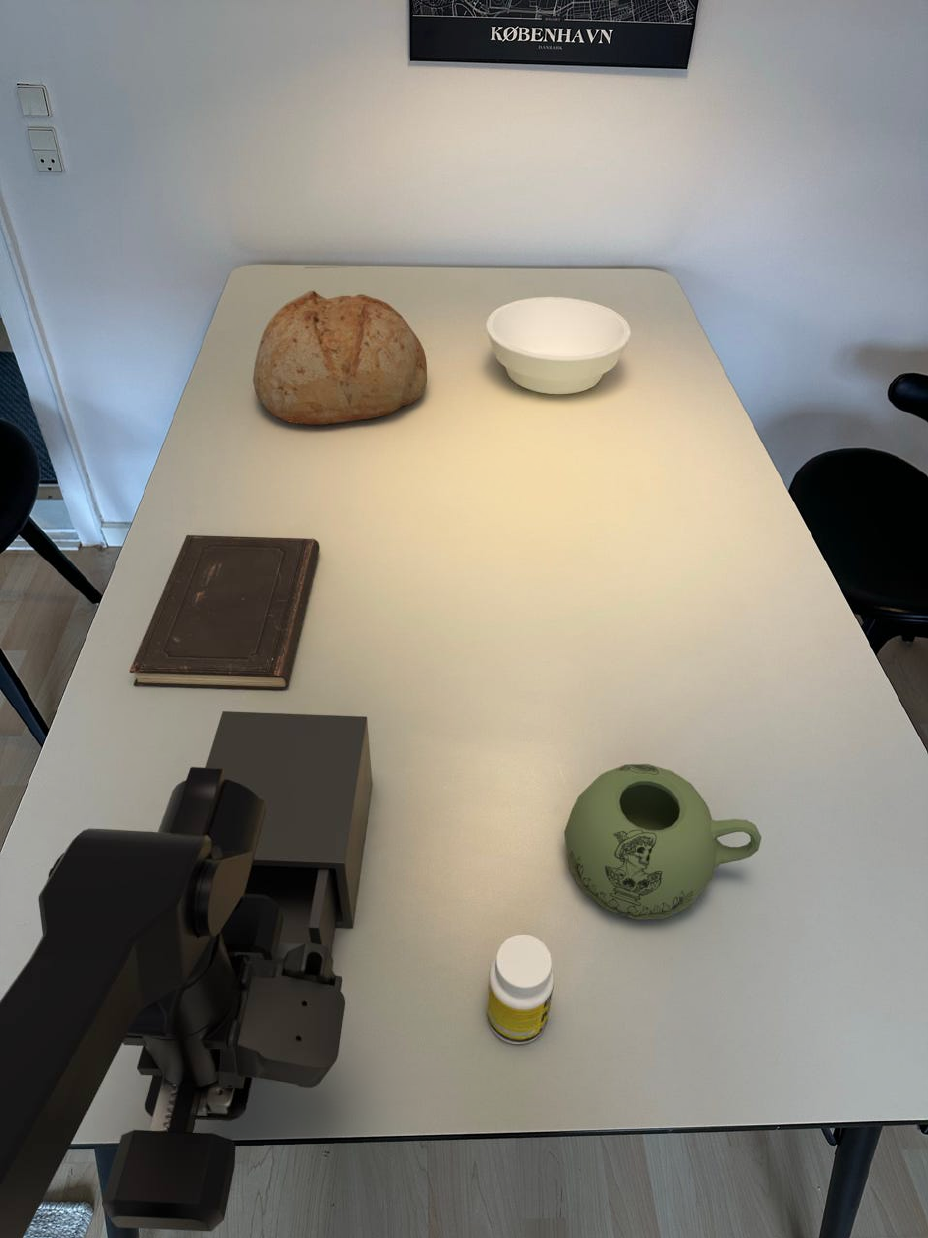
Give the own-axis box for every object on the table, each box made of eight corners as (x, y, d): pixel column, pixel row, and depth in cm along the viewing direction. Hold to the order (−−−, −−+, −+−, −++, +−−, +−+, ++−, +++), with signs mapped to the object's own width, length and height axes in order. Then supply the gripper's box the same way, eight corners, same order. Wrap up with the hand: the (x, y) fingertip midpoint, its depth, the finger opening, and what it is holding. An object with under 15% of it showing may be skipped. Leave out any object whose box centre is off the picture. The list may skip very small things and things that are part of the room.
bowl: (580, 335, 157) (585, 287, 151) (650, 394, 142) (659, 343, 136) (461, 357, 150) (462, 308, 144) (522, 421, 135) (526, 369, 129)
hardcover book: (134, 686, 93) (129, 670, 92) (190, 549, 110) (186, 534, 109) (288, 691, 93) (285, 675, 92) (320, 553, 110) (318, 538, 109)
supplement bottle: (549, 1046, 67) (559, 994, 61) (486, 1045, 67) (490, 993, 61) (546, 984, 71) (555, 929, 65) (485, 983, 71) (489, 928, 65)
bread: (420, 356, 150) (419, 265, 140) (436, 428, 133) (436, 331, 123) (259, 363, 147) (245, 271, 137) (253, 438, 130) (238, 340, 120)
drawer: (324, 1068, 65) (313, 1021, 60) (166, 1061, 65) (142, 1013, 60) (354, 855, 78) (348, 801, 73) (223, 850, 78) (207, 795, 73)
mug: (554, 917, 75) (564, 859, 69) (566, 792, 84) (576, 731, 78) (751, 948, 73) (778, 890, 67) (740, 817, 83) (763, 757, 77)
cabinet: (353, 928, 74) (344, 863, 67) (200, 922, 74) (177, 856, 68) (372, 784, 85) (367, 716, 78) (239, 779, 85) (222, 710, 78)
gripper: (298, 1188, 42) (326, 1271, 53) (349, 846, 56) (363, 966, 67) (62, 1177, 43) (137, 1262, 53) (171, 839, 56) (213, 960, 67)
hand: (226, 1096), depth 60 cm, fingers closed
